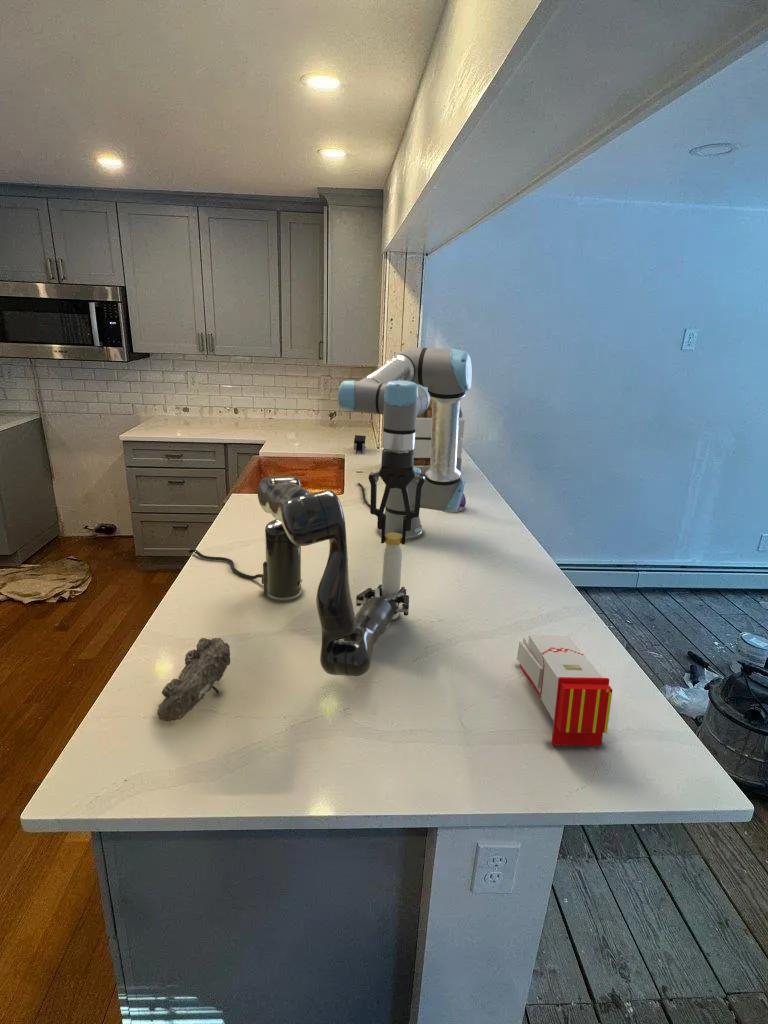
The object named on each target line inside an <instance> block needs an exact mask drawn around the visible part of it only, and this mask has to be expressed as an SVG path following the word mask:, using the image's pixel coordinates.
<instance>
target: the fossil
mask: <svg viewBox="0 0 768 1024" xmlns="http://www.w3.org/2000/svg"><path fill="white" fill-rule="evenodd" d="M230 648H231V647H230V645H229V644H228V642H225V641H224V640H223V639H222V638H221V637H214V638H211V639H210V638H206V637H201V638H200V639H199V640H198V642H197V644H196V649H194V648H193V649H191V650H189V651H187V653H186V654H185V658H184V661H185V662H184V664H185V666H184V667H183V669H182V670H181V672H180V674H179V676H178V678H173V679H171V680H170V682H167V683H166V685H165V686H163V689H162V690H161V694H162V695H163V696H164V698H163V700H162V702H161V703H159V704H158V709H157V719H158V720H162V721H163V722H165V723H167V722H172V721H173V722H175V721H180V720H182V719H183V718H184V717H185V716H186V715H187V714H188V713H189V712H191V711H192V710H193V709H194V708H195V707H196V706H197V705H198V704H199V703H200V702H201V701H202V700H204V699H205V697H206V695H207V693H208V692H210V691H211V690H214V692H216V694H219V693H220V690H219V689H218V688H217V687H216V686H215V684H216V682H219V681H220V680H221V679H222V678H223V676H224V673H225V671H226V670H227V668H228V667H229V665H231V649H230Z"/></svg>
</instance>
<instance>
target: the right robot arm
mask: <svg viewBox="0 0 768 1024" xmlns="http://www.w3.org/2000/svg"><path fill="white" fill-rule="evenodd" d="M472 379H473V367H472V359H471V357H470V354H469V353H468V352H467V351H466V350H464V349H463V350H462V349H455V348H440V347H439V348H437V347H425V346H424V347H422V346H419V347H411V348H407V349H404V350H402V351H399V352H396V353H394V354H392V355H390V356H389V357H387V359H386V360H385V362H384V363H383V365H381V366H380V367H379V368H377V369H376V370H374V371H372V372H371V373H370V374H368V375H365V377H363V378H361V379H360V380H358V381H357V380H354V379H352V380H343V381H342V382H341V383H340V385H339V388H338V392H337V401H338V405H339V408H340V409H341V410H343V411H346V412H352V413H363V414H372V415H373V414H375V415H383V421H382V423H383V424H382V442H381V446H382V448H383V449H382V450H381V466H380V468H379V471H376V472H370V473H369V475H368V481H369V484H370V502H368V501H367V499H366V493H365V488H364V486H363V485H362V484H361V483H360V482H357V484H358V485H359V487H360V488H361V490H362V500H363V501H364V503H365V504H366V506H368V507H369V510H370V511H369V512H370V514H371V515H374V516H376V517H377V522H376V523H377V525H376V527H377V530H378V533H379V534H380V535H381V536H380V538H381V539H380V543H381V544H385V534H387V533H399V534H401V535H402V543H401V546H405V545H406V541H410V540H415V539H418V538H420V537H421V536H422V535H423V525H422V524H421V518H420V509H425V510H433V511H439V512H440V511H441V512H443V513H445V512H447V513H456V512H455V511H456V510H457V509H458V507H459V505H460V502H461V498H462V495H463V493H464V490H465V485H466V479H464V478H462V477H460V471H459V470H457V469H456V462H457V444H458V427H459V409H460V408H461V400H462V399H463V398H464V397H465V396H466V392H467V391H470V390H471V387H472V382H473V381H472ZM430 397H431V398H432V427H431V459H430V466H429V468H428V469H427V470H426V471H425V473H422V469H421V468H419V467H417V466H413V464H414V452H413V449H414V446H415V428H416V417H417V416H420V415H422V414H423V413H424V412H425V411H426V409H427V408H428V406H429V404H430ZM379 478H380V479H381V480H382V481H383V483H384V484H385V488H384V490H383V494H382V498H381V501H380V504H379V508H377V491H378V482H379Z"/></svg>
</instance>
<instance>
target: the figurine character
mask: <svg viewBox="0 0 768 1024" xmlns="http://www.w3.org/2000/svg"><path fill="white" fill-rule="evenodd" d="M366 438H367V436H366V435H360V434H359V435H357V434H354V439H353V451H355V453H356V454H358V453H359V452H360V454H363V452H364V451H365V449H366V448H367V447H366Z"/></svg>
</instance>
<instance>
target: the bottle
mask: <svg viewBox="0 0 768 1024" xmlns="http://www.w3.org/2000/svg"><path fill="white" fill-rule="evenodd" d="M382 555H383V556H382V577H381V585H382V595H381V596H384V597H390V596H392V595H393V594H395V595H396V594H398V592H399V591H400V589H401V577H402V563H403V561H402V560H403V552H402V548H401V544H399V545H389V544H387V543H386V545H385V547H384V550H383V554H382ZM398 607H400V605H398ZM399 613H400V612H398V613H397V614H395V615H393V617H392V619H391V621H393V620H395V619H398V618H399V615H400V614H399Z"/></svg>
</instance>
